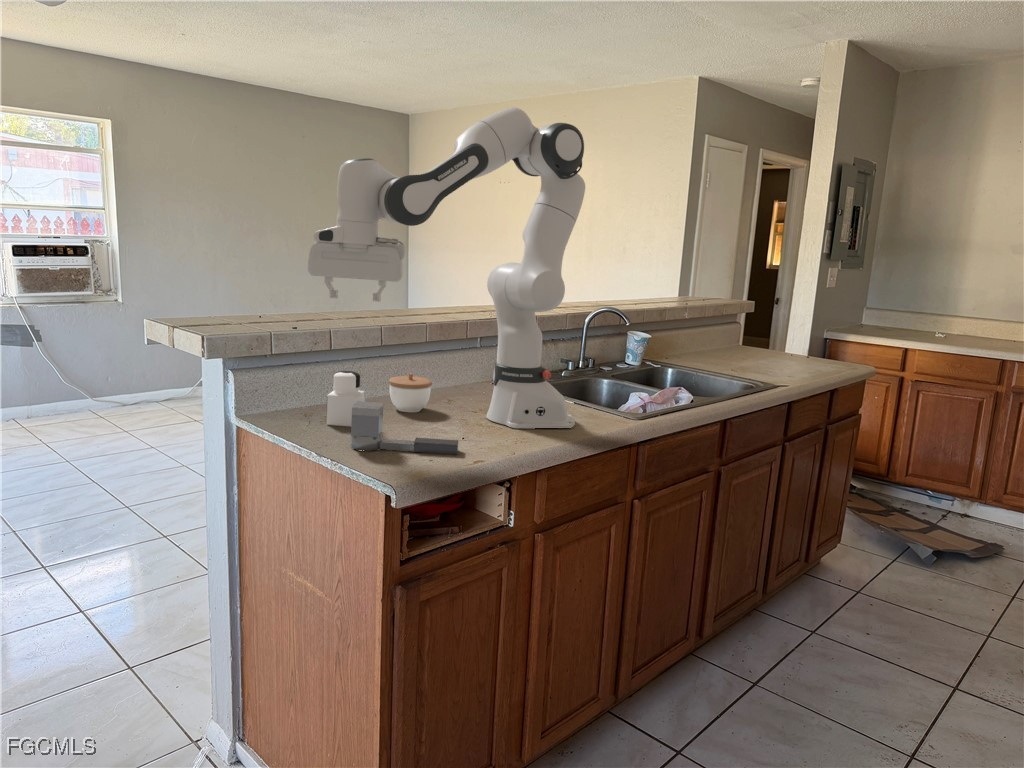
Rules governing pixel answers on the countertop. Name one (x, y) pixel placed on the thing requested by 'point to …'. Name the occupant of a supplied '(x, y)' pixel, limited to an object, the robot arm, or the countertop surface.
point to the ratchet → (406, 445)
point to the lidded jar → (409, 392)
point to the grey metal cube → (367, 419)
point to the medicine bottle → (343, 398)
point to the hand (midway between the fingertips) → (355, 299)
